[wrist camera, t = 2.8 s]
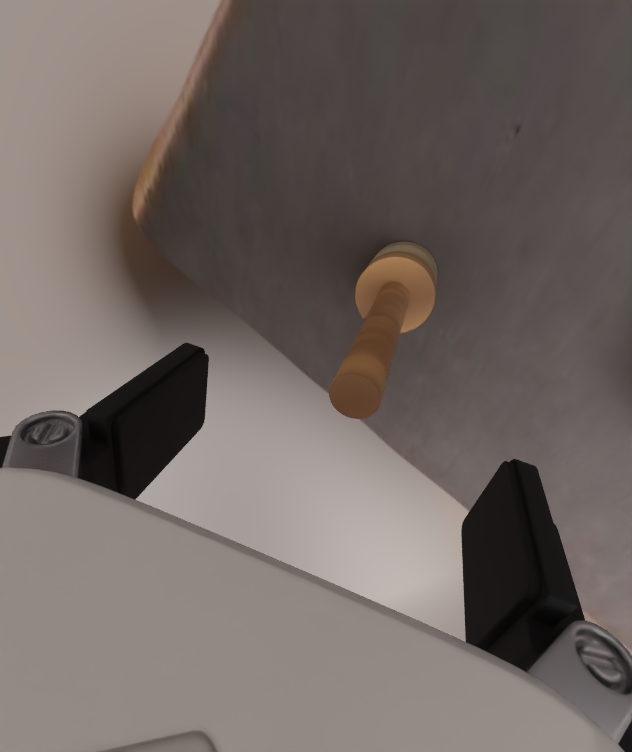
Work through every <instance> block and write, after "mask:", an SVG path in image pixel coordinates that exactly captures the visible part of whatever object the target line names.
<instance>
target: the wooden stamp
mask: <svg viewBox="0 0 632 752" xmlns="http://www.w3.org/2000/svg"><path fill="white" fill-rule="evenodd" d="M437 275H438V273H437V266H436V263H435V260H434V259H433V257H432V255H431V254H430V253H429V252H428V251H427V250H426V249H425V248H424V247H422V246H420V245H418V244H416V243H413V242H406V241H402V242H395V243H392V244H390V245H387V246H386V247H384V248H383V249H381V250H380V251H379V252H378V253H377V254H376V255H375V257H374V258H373V259H372V261H371V262H370V263H369V265H368V266H367V268H366V269H365V270H364V272H363V273H362V274H361V276H360V278H359V280H358V282H357V285H356V290H355V301H356V305H357V308H358V311H359V313H360V314H361V316H362V318H363V319H364V322H363V324H362V326H361V328H360V330H359V332H358V334H357V336H356V338H355V339H354V341H353V343H352V345H351V347H350V349H349V351H348V353H347V355H346V357H345V359H344V361H343V363H342V364H341V366H340V368H339V370H338V372H337V374H336V376H335V378H334V380H333V382H332V384H331V386H330V389H329V397H330V400H331V403H332V405H333V406H334V407H335V409H336V410H337V411H339V412H340V413H341V414H343V415H345V416H347V417H350V418H356V419H361V418H366V417H369V416H371V415H372V414H374V413H375V412H376V411H377V410H378V408H379V406H380V403H381V399H382V396H383V392H384V389H385V385H386V381H387V378H388V374H389V371H390V367H391V364H392V360H393V357H394V353H395V349H396V346H397V342H398V339H399V335H400V333H404V332H408V331H411V330H413V329H415V328H417V327H418V326H420V325H421V324H422V323H423V322H424V321H425V320H426V319H427V318H428V316H429V315H430V313H431V311H432V309H433V306H434V303H435V296H436V286H437Z"/></svg>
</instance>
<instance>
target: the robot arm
mask: <svg viewBox="0 0 632 752" xmlns="http://www.w3.org/2000/svg"><path fill="white" fill-rule="evenodd" d="M208 362H209V357H208V355H207V354H205V351H204V349H203V348H201V347H198V346H195V345H192V344H189V343H184V344H182V345H181V346H179V347H178V348H177V349H175V350H174V351H172V352H171V353H169V354H168V355H166V356H165V357H164V358H162V359H161V360H159V361H158V362H156V363H155V364H153V365H152V366H150V367H149V368H147V369H146V370H145V371H143V372H142V373H140V374H139V375H138V376H136V377H134V378H133V379H132V380H130V381H129V382H127V383H126V384H124V385H123V386H121V387H120V388H119V389H117V390H116V391H114V392H113V393H111V394H110V395H108V396H107V397H105V398H104V399H102V400H101V401H100V402H98V403H97V404H95V405H94V406H92V407H91V408H89V409H88V410H87V412H86V413H84V414H83V415H81V416H80V417H78V416H77V415H75V414H72V413H71V412H66V411H47V412H41V413H38V414H35V415H32V416H30V417H28V418H26V419H24V420H23V421H21V422H20V423H19V424H18V425H17V426H16V427H15V429H14V431H13V432H12V436H6V437H0V752H632V656H631V654H630V653H629V651H628V650H627V649H626V648H625V647H624V646H623V645H622V644H621V642H620V641H619V640H618V639H616V638H615V637H614V636H613V635H612V634H610V633H609V632H608V631H607V630H605V629H603V628H602V627H600V626H598V625H597V624H594V623H591V622H588V621H585V618H584V615H583V612H582V608H581V605H580V602H579V599H578V595H577V592H576V589H575V585H574V582H573V579H572V575H571V572H570V569H569V565H568V562H567V559H566V556H565V552H564V549H563V546H562V542H561V539H560V536H559V532H558V530H557V527H556V525H555V524H554V523H553V520H552V517H551V513H550V510H549V507H548V503H547V500H546V496H545V493H544V490H543V486H542V483H541V479H540V476H539V473H538V470H537V468H536V467H535V466H533V465H531V464H528V463H525V462H522V461H519V460H516V459H513V460H511V461H510V462H507V461H505V462H503V463H502V464H501V466H500V467H499V469H498V470H497V472H496V473H495V475H494V476H493V478H492V479H491V481H490V482H489V484H488V485H487V487H486V488H485V489H484V491H483V492H482V494H481V495H480V497H479V498H478V500H477V501H476V503H475V504H474V506H473V507H472V509H471V510H470V512H469V513H468V515H467V516H466V518H465V519H464V522H463V525H462V556H463V581H464V604H465V605H464V606H465V631H466V642H464V641H462V640H460V639H458V638H456V637H453V636H451V635H449V634H447V633H444V632H442V631H440V630H438V629H436V628H433V627H431V626H429V625H427V624H424V623H422V622H420V621H418V620H415V619H413V618H411V617H409V616H406V615H404V614H402V613H399V612H397V611H395V610H392V609H390V608H388V607H386V606H383V605H381V604H379V603H376V602H374V601H372V600H369V599H367V598H365V597H363V596H360V595H358V594H356V593H353V592H351V591H349V590H346V589H344V588H342V587H340V586H337V585H335V584H333V583H330V582H328V581H326V580H323V579H321V578H319V577H316V576H314V575H312V574H309V573H307V572H305V571H302V570H300V569H298V568H295V567H293V566H291V565H288V564H286V563H284V562H281V561H279V560H277V559H274V558H272V557H270V556H267V555H265V554H263V553H260V552H258V551H256V550H253V549H251V548H249V547H246V546H244V545H242V544H239V543H237V542H235V541H232V540H230V539H227V538H225V537H223V536H220V535H218V534H216V533H213V532H211V531H209V530H206V529H204V528H201V527H199V526H197V525H194V524H192V523H190V522H187V521H185V520H183V519H180V518H178V517H175V516H173V515H170V514H168V513H166V512H164V511H161V510H159V509H156V508H154V507H152V506H149V505H147V504H144V503H142V502H139V501H137V500H135V499H136V498H137V497H138V496H139V495H140V494H141V493H142V492H143V490H145V488H146V487H147V486H148V485H149V484H150V483H151V482H152V481H153V480H154V479H155V478H156V477H157V475H158V474H159V473H160V472H161V471H162V470H163V469H164V468H165V467H166V466H167V465H168V464H169V463H170V461H171V460H172V459H173V458H174V457H175V456H176V455H177V454H178V453H179V452H180V451H181V450H182V448H183V447H184V446H185V445H186V444H187V443H188V442H189V441H190V440H191V439H192V437H194V435H195V434H196V433H197V432H198V431H199V430H200V429H201V427H202V425H203V423H204V419H205V407H206V391H207V377H208Z"/></svg>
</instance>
